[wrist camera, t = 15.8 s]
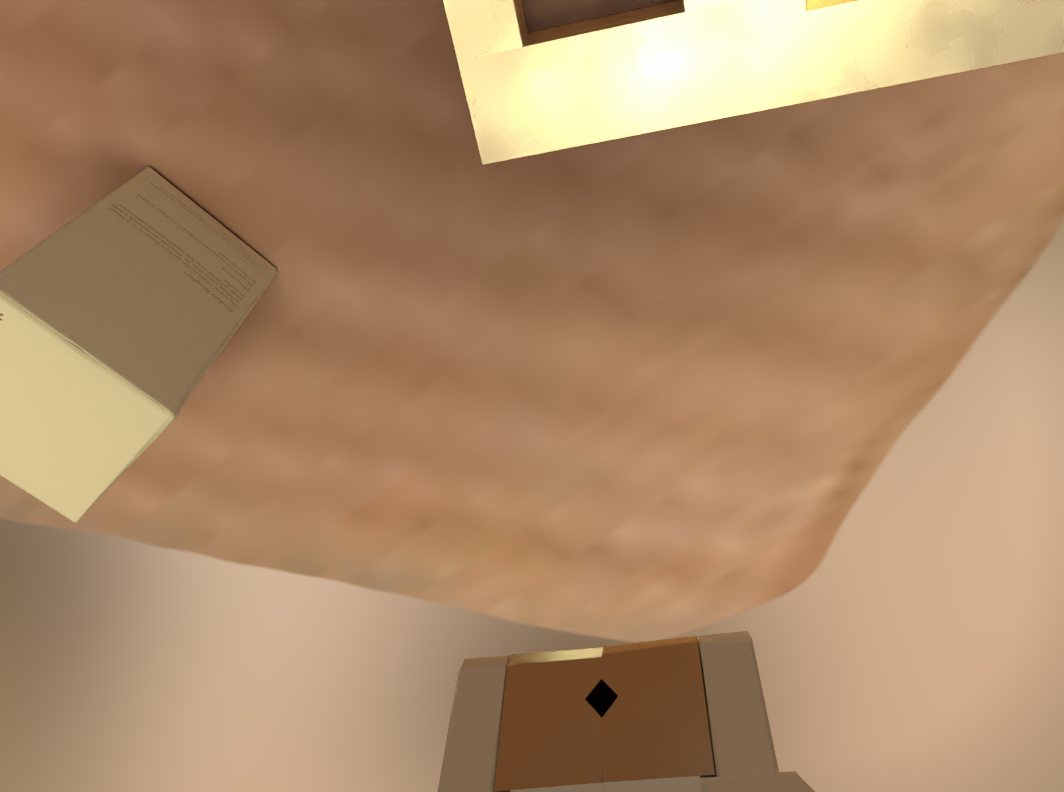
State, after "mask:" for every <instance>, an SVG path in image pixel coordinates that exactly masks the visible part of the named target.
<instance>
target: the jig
mask: <svg viewBox="0 0 1064 792" xmlns="http://www.w3.org/2000/svg"><path fill="white" fill-rule="evenodd" d="M443 2H444V7H445V11H446V15H447V19H448V23H449V27H450V31H451V36H452V40H453V44H454V48H455V52H456V56H457V61H458V65H459V69H460V73H461V77H462V81H463V85H464V90H465V94H466V98H467V102H468V106H469V110H470V114H471V119H472V123H473V127H474V131H475V135H476V139H477V143H478V148H479V152H480V156H481V160H482V164H488V163H493V162H499V161H504V160H509V159H514V158H519V157H524V156H530V155H535V154H540V153H545V152H550V151H555V150H561V149H566V148H571V147H576V146H581V145H586V144H592V143H597V142H602V141H607V140H612V139H617V138H623V137H628V136H633V135H638V134H643V133H648V132H654V131H659V130H664V129H669V128H674V127H679V126H685V125H690V124H695V123H700V122H705V121H710V120H716V119H721V118H726V117H731V116H736V115H741V114H747V113H752V112H757V111H762V110H767V109H772V108H778V107H783V106H788V105H793V104H798V103H803V102H809V101H814V100H819V99H824V98H829V97H834V96H840V95H845V94H850V93H855V92H860V91H865V90H871V89H876V88H881V87H886V86H891V85H896V84H902V83H907V82H912V81H917V80H922V79H927V78H933V77H938V76H943V75H948V74H953V73H958V72H964V71H969V70H974V69H979V68H984V67H989V66H995V65H1000V64H1005V63H1010V62H1015V61H1020V60H1026V59H1031V58H1036V57H1041V56H1046V55H1051V54H1057V53H1062V52H1064V0H678V1H674V2H670V3H665V4H660V5H656V6H651V7H646V8H642V9H637V10H633V11H628V12H623V13H619V14H614V15H609V16H605V17H600V18H596V19H591V20H586V21H582V22H577V23H572V24H568V25H563V26H558V27H554V28H549V29H545V30H540V31H535V32H531V33H528V32H527V27H526V22H525V17H524V12H523V7H522V2H521V0H443Z"/></svg>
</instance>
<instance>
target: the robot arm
mask: <svg viewBox="0 0 1064 792" xmlns="http://www.w3.org/2000/svg"><path fill="white" fill-rule="evenodd" d="M699 645H700V648H699ZM700 652H701V654H700ZM701 659H702V660H701ZM438 792H815V791H814V790H813V789H811V787H810V786H809V785H808V784H807V783H806V782H805V781H804V780H803V779H802V778H801V777H800V776H799V775H798V774H797V773H796V772H779V770H778V765H777V760H776V755H775V750H774V745H773V740H772V736H771V730H770V725H769V721H768V716H767V711H766V706H765V701H764V696H763V691H762V686H761V681H760V676H759V672H758V666H757V661H756V657H755V652H754V647H753V642H752V638H751V636H750V635H749V633H748V632H747V631H741V632H732V633H723V634H713V635H705V636H699V642H698V636H692V637H683V638H674V639H665V640H656V641H648V642H639V643H630V644H621V645H612V646H604V647H603V648H592V649H578V650H565V651H552V652H538V653H525V654H512V655H508V656H495V657H483V658H470V659H465V660H464V662H463V664H462V666H461V667H460V669H459V671H458V676H457V681H456V687H455V693H454V699H453V705H452V711H451V717H450V722H449V728H448V735H447V740H446V746H445V752H444V758H443V764H442V770H441V776H440V781H439V787H438Z"/></svg>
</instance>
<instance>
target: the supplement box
mask: <svg viewBox="0 0 1064 792" xmlns="http://www.w3.org/2000/svg"><path fill="white" fill-rule="evenodd" d="M276 272H277V269H276V268H275V267H274V266H272V265H271V264H270V263H268V262H267V261H266V260H265V259H263V258H262V257H261V256H260V255H259V254H257V253H256V252H255V251H254V250H252V249H251V248H250V247H249V246H247V245H246V244H245V243H244V242H242V241H241V240H240V239H239V238H237V237H236V236H235V235H234V234H232V233H231V232H230V231H229V230H227V229H226V228H225V227H224V226H222V225H221V224H220V223H219V222H218V221H216V220H215V219H214V218H213V217H211V216H210V215H209V214H208V213H206V212H205V211H204V210H203V209H201V208H200V207H199V206H198V205H196V204H195V203H194V202H193V201H191V200H190V199H189V198H188V197H186V196H185V195H184V194H183V193H181V192H180V191H179V190H178V189H176V188H175V187H174V186H173V185H171V184H170V183H169V182H168V181H166V180H165V179H164V178H163V177H161V176H160V175H159V174H158V173H157V172H155V171H154V170H153V169H152V168H150V167H147V168H145V169H144V170H142V171H141V172H139V173H138V174H136V175H135V176H134V177H132V178H131V179H130V180H128V181H127V182H125V183H124V184H123V185H121V186H120V187H118V188H117V189H116V190H114V191H113V192H111V193H110V194H109V195H107V196H106V197H104V198H103V199H102V200H100V201H99V202H97V203H96V204H94V205H93V206H92V207H90V208H89V209H87V210H86V211H85V212H83V213H82V214H80V215H79V216H77V217H76V218H75V219H73V220H72V221H70V222H69V223H68V224H66V225H65V226H63V227H62V228H61V229H59V230H58V231H56V232H55V233H54V234H52V235H51V236H49V237H48V238H46V239H45V240H44V241H42V242H41V243H39V244H38V245H37V246H35V247H34V248H32V249H31V250H30V251H28V252H27V253H25V254H24V255H22V256H21V257H20V258H18V259H17V260H15V261H14V262H13V263H11V264H10V265H8V266H7V267H6V268H4V269H3V270H1V271H0V475H1V476H2V477H4V478H6V479H7V480H9V481H10V482H12V483H14V484H15V485H17V486H18V487H20V488H21V489H23V490H25V491H26V492H28V493H29V494H31V495H33V496H34V497H36V498H37V499H39V500H40V501H42V502H44V503H45V504H47V505H48V506H50V507H51V508H53V509H54V510H56V511H58V512H59V513H61V514H62V515H64V516H65V517H67V518H68V519H70V520H72V521H73V522H77V521H78V520H79V519H80V518H81V517H82V516H83V515H84V514H85V513H86V512H87V510H88V509H89V508H90V507H91V506H92V505H93V504H94V503H95V502H96V501H97V500H98V499H99V498H100V497H101V496H102V495H103V494H104V493H105V492H106V490H107V489H108V488H109V487H110V486H111V485H112V484H113V483H114V482H115V481H116V480H117V479H118V478H119V477H120V476H121V475H122V474H123V473H124V472H125V471H126V470H127V469H128V468H129V467H130V466H131V465H132V464H133V463H134V461H135V460H136V459H137V458H138V457H139V456H140V455H141V454H142V453H143V452H144V451H145V450H146V449H147V448H148V447H149V446H150V445H151V444H152V443H153V442H154V441H155V440H156V439H157V437H158V436H159V435H160V434H161V433H162V432H163V431H164V430H165V429H166V428H167V427H168V426H169V425H170V424H171V423H172V422H173V421H174V420H175V418H176V417H177V415H178V414H179V412H180V410H181V408H182V407H183V405H184V404H185V402H186V400H187V399H188V397H189V396H190V394H191V393H192V392H193V390H194V389H195V387H196V386H197V384H198V383H199V382H200V380H201V379H202V378H203V376H204V375H205V373H206V372H207V371H208V369H209V368H210V366H211V365H212V364H213V362H214V361H215V359H216V358H217V357H218V355H219V354H220V352H221V351H222V350H223V348H224V347H225V346H226V344H227V343H228V342H229V340H230V339H231V337H232V336H233V335H234V333H235V332H236V331H237V329H238V328H239V326H240V325H241V324H242V322H243V321H244V319H245V318H246V317H247V315H248V314H249V312H250V311H251V310H252V308H253V307H254V306H255V304H256V303H257V301H258V300H259V298H260V297H261V295H262V294H263V292H264V291H265V289H266V288H267V287H268V285H269V284H270V282H271V281H272V279H273V277H274V276H275V274H276Z"/></svg>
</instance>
